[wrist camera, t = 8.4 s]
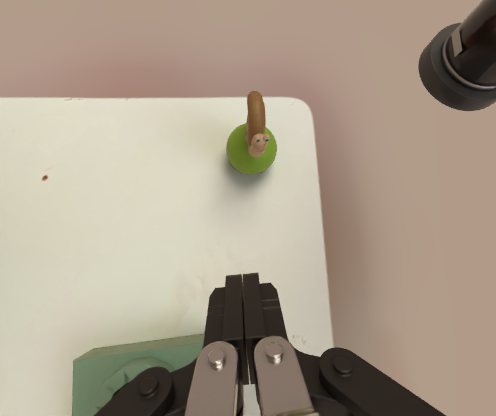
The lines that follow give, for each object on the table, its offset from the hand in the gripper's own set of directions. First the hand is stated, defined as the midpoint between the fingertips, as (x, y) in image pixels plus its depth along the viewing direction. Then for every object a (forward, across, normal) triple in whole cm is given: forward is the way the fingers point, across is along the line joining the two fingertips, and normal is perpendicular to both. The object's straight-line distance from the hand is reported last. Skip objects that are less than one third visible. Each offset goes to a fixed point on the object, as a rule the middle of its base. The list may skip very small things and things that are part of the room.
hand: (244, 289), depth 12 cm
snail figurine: (+21, +2, +1) cm, 21 cm away
